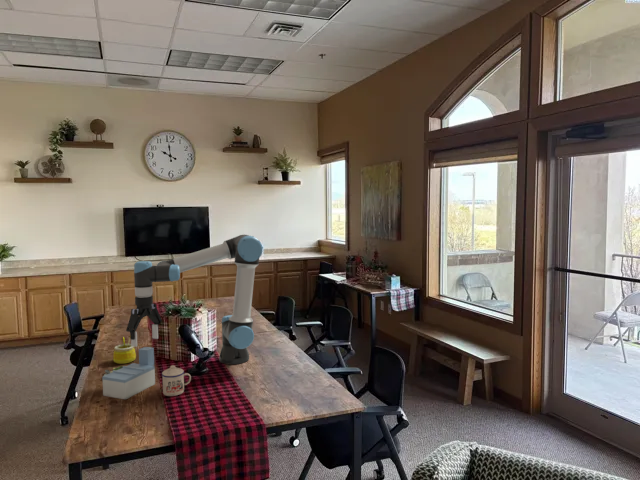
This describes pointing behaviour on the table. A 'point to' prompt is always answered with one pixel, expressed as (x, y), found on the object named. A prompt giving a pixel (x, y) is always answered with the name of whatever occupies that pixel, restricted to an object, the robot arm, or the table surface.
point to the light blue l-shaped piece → (134, 367)
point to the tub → (128, 386)
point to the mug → (124, 353)
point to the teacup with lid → (174, 381)
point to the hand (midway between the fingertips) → (145, 342)
